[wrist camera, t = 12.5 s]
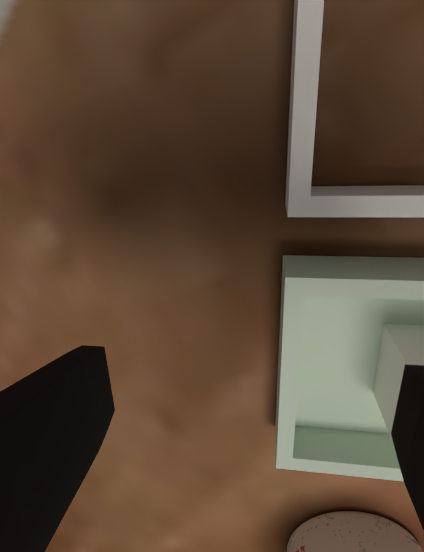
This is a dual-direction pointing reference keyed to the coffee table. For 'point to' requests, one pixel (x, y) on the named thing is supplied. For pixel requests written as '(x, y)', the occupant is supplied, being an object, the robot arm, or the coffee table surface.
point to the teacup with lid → (351, 534)
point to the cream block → (396, 365)
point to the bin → (302, 132)
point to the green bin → (339, 360)
